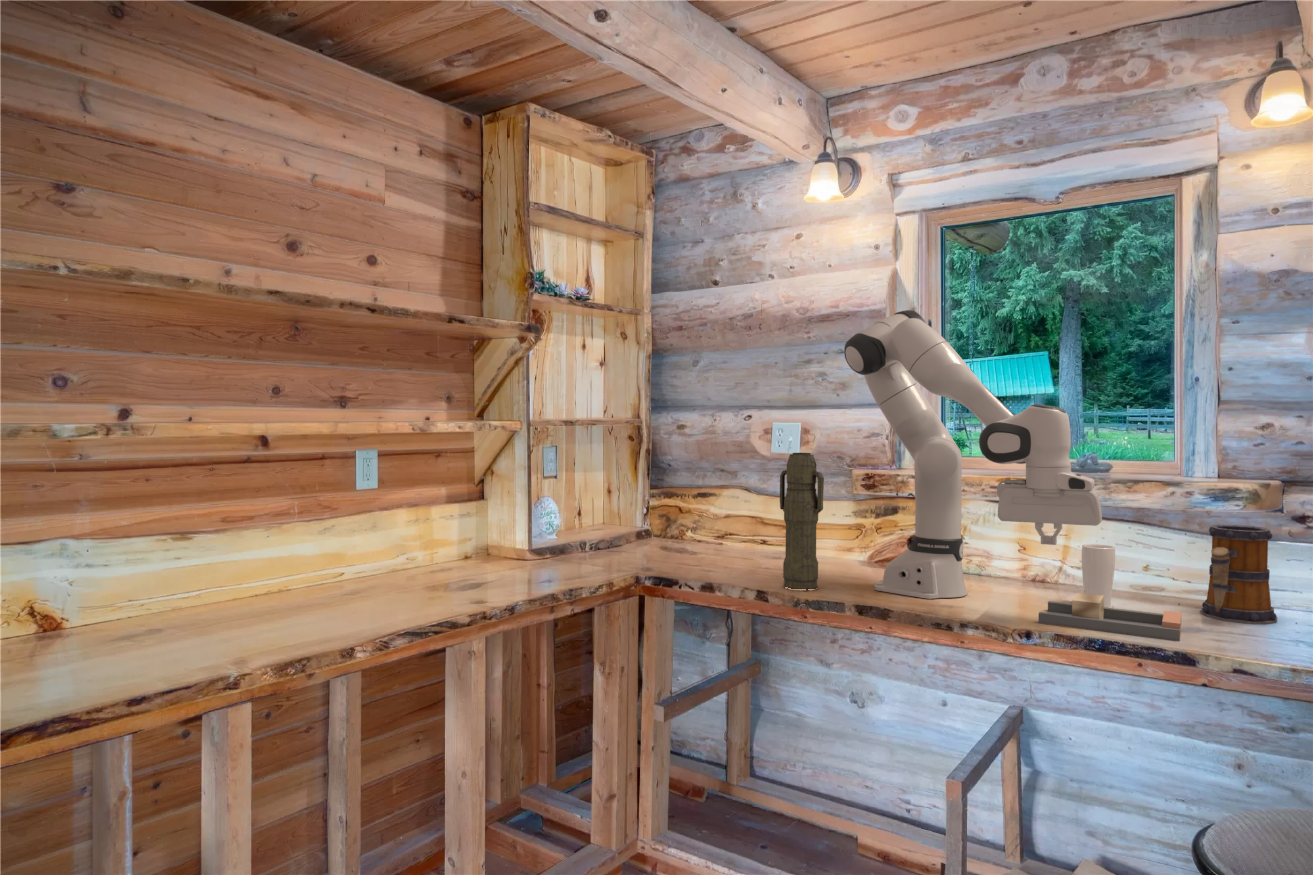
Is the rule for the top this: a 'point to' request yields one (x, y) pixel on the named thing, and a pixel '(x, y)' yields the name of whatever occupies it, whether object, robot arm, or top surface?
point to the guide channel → (1117, 621)
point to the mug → (1239, 575)
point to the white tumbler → (1098, 570)
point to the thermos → (801, 520)
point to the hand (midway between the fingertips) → (1048, 544)
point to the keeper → (1088, 606)
